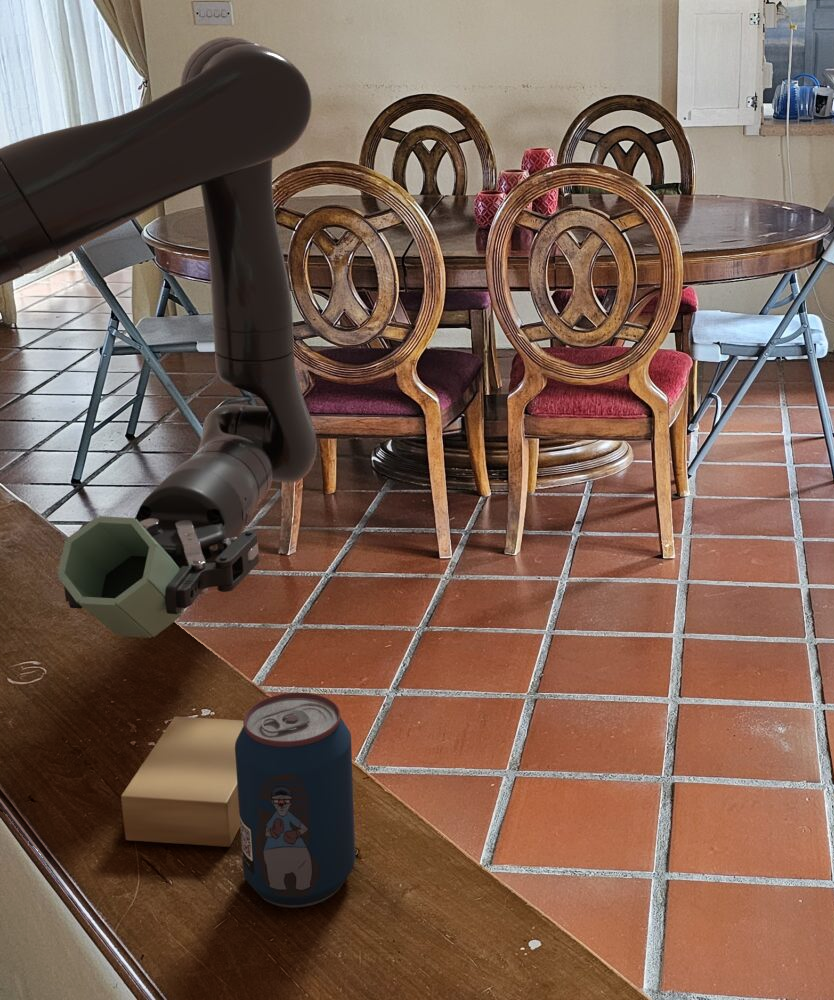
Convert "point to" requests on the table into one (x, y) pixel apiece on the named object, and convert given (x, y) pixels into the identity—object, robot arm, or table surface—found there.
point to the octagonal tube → (119, 576)
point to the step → (187, 786)
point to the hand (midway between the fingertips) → (122, 599)
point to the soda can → (295, 799)
